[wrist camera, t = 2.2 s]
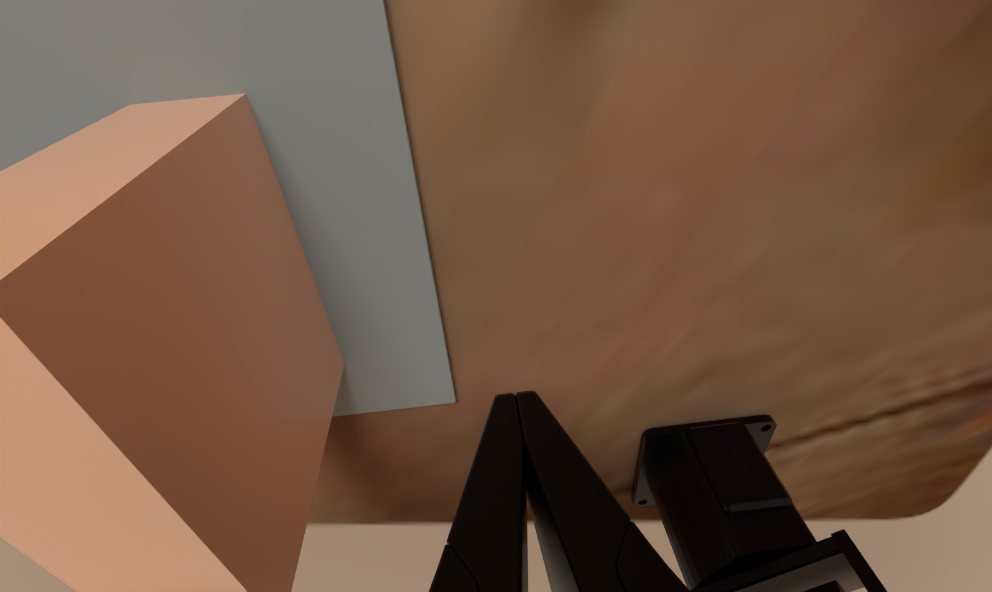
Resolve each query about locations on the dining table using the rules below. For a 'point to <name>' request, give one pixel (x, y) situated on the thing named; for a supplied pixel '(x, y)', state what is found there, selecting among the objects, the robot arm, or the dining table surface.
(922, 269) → the dining table surface
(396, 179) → the mat
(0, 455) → the tile
